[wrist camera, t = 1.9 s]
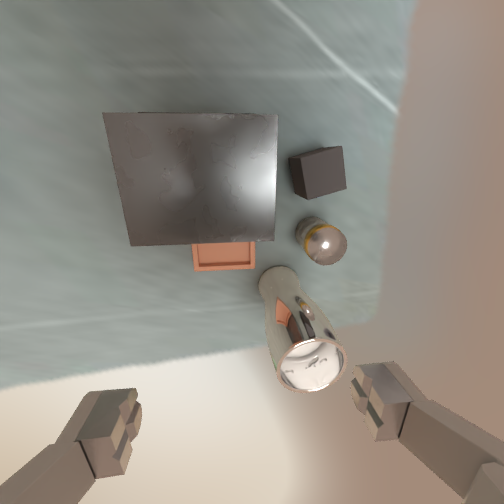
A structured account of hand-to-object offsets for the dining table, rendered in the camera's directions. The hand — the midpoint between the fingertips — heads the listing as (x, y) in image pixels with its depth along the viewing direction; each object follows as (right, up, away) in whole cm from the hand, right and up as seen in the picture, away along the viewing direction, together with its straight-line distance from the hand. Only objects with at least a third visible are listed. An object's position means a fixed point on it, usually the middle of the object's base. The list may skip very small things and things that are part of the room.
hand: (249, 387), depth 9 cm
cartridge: (+8, +8, +23) cm, 26 cm away
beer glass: (+4, 0, +26) cm, 26 cm away
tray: (-4, +7, +22) cm, 24 cm away
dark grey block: (-5, +15, +19) cm, 25 cm away
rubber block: (+7, +15, +20) cm, 26 cm away
